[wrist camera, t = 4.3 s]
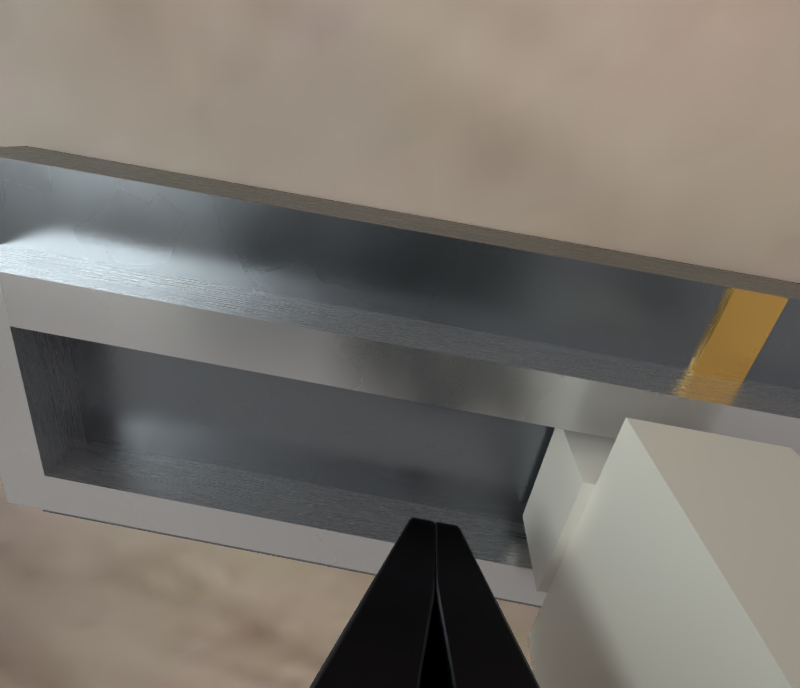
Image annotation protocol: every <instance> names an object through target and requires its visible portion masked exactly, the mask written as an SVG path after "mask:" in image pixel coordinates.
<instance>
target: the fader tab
mask: <svg viewBox="0 0 800 688" xmlns="http://www.w3.org/2000/svg"><path fill="white" fill-rule="evenodd" d="M523 522H524V527H525V532H526V537H527V543H528V548H529V553H530V558H531V564H532V569H533V574H534V579H535V585H536V590H537V591H540V592H545V593H547V595H546V598H545V600H544V602H543V604H542V607H541V609H540V611H539V613H538V616H537V618H536V620H535V622H534V625H533V627H532V629H531V631H530V634H529V636H528V640H529V646H530V653H531V659H532V666H533V672H534V676H535V678H536V680H537V682H538V684H539V686H540V688H800V456H799V455H798V454H797V453H796V452H795V451H794V450H793V449H791V448H789V447H784V446H778V445H773V444H768V443H762V442H757V441H751V440H746V439H741V438H735V437H730V436H724V435H719V434H714V433H708V432H703V431H697V430H692V429H686V428H681V427H676V426H670V425H665V424H659V423H654V422H649V421H643V420H638V419H632V418H627V417H626V418H625V420H624V423H623V425H622V427H621V429H620V432H619V434H618V436H617V438H616V439H613V438H608V437H602V436H597V435H592V434H586V433H581V432H576V431H570V430H565V429H559V428H555V429H554V432H553V435H552V437H551V440H550V443H549V446H548V448H547V451H546V454H545V456H544V459H543V462H542V465H541V467H540V470H539V473H538V475H537V478H536V481H535V483H534V486H533V489H532V492H531V494H530V497H529V500H528V502H527V505H526V508H525V511H524V513H523Z"/></svg>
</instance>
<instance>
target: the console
mask: <svg viewBox="0 0 800 688" xmlns="http://www.w3.org/2000/svg"><path fill="white" fill-rule="evenodd" d="M626 417H627V418H632V419H638V420H643V421H649V422H654V423H659V424H665V425H670V426H676V427H681V428H686V429H692V430H697V431H703V432H708V433H714V434H719V435H724V436H730V437H735V438H741V439H746V440H751V441H757V442H762V443H768V444H773V445H778V446H784V447H789V448H791V449H793V450H794V451H795V452H796V453H797V454H798V455H799V456H800V284H799V283H794V282H788V281H782V280H777V279H771V278H766V277H760V276H754V275H749V274H743V273H737V272H732V271H726V270H720V269H715V268H709V267H704V266H698V265H692V264H687V263H681V262H675V261H670V260H664V259H659V258H653V257H647V256H642V255H636V254H630V253H625V252H619V251H614V250H608V249H602V248H597V247H591V246H585V245H580V244H574V243H569V242H563V241H557V240H552V239H546V238H540V237H535V236H529V235H524V234H518V233H512V232H507V231H501V230H495V229H490V228H484V227H479V226H473V225H467V224H462V223H456V222H450V221H445V220H439V219H434V218H428V217H422V216H417V215H411V214H405V213H400V212H394V211H389V210H383V209H377V208H372V207H366V206H360V205H355V204H349V203H344V202H338V201H332V200H327V199H321V198H315V197H310V196H304V195H299V194H293V193H287V192H282V191H276V190H270V189H265V188H259V187H253V186H248V185H242V184H237V183H231V182H225V181H220V180H214V179H208V178H203V177H197V176H192V175H186V174H180V173H175V172H169V171H163V170H158V169H152V168H147V167H141V166H135V165H130V164H124V163H118V162H113V161H107V160H102V159H96V158H90V157H85V156H79V155H73V154H68V153H62V152H57V151H51V150H45V149H40V148H34V147H28V146H14V147H0V477H1V480H2V484H3V487H4V491H5V494H6V498H7V501H8V503H12V504H17V505H23V506H28V507H33V508H38V509H43V511H45V512H50V513H56V514H61V515H66V516H71V517H76V518H81V519H86V520H92V521H97V522H102V523H107V524H112V525H117V526H123V527H128V528H133V529H138V530H143V531H148V532H154V533H159V534H164V535H169V536H174V537H179V538H184V539H190V540H195V541H200V542H205V543H210V544H215V545H221V546H226V547H231V548H236V549H241V550H246V551H251V552H257V553H262V554H267V555H272V556H277V557H282V558H288V559H293V560H298V561H303V562H308V563H313V564H318V565H324V566H329V567H334V568H339V569H344V570H349V571H355V572H360V573H365V574H370V575H375V576H376V575H377V573H378V571H379V570H380V568H381V566H382V565H383V563H384V561H385V560H386V558H387V556H388V555H389V553H390V551H391V549H392V548H393V546H394V544H395V543H396V541H397V539H398V538H399V536H400V534H401V533H402V531H403V529H404V528H405V526H406V524H407V523H408V521H409V520H410V519H411V518H412V517H415V518H421V519H426V520H431V521H433V522H434V523H435V522H442V523H447V524H452V525H457V526H458V527H459V528H460V529H461V531H462V533H463V535H464V537H465V539H466V541H467V543H468V545H469V547H470V549H471V551H472V553H473V555H474V557H475V559H476V561H477V563H478V565H479V567H480V569H481V571H482V573H483V575H484V577H485V579H486V581H487V583H488V585H489V587H490V589H491V591H492V593H493V595H494V597H495V599H499V600H504V601H509V602H514V603H519V604H525V605H530V606H535V607H540V608H541V607H542V604H543V602H544V600H545V598H546V595H547V593H545V592H540V591H537V590H536V585H535V579H534V574H533V569H532V564H531V558H530V553H529V548H528V543H527V537H526V532H525V527H524V522H523V513H524V511H525V508H526V505H527V502H528V500H529V497H530V494H531V492H532V489H533V486H534V483H535V481H536V478H537V475H538V473H539V470H540V467H541V465H542V462H543V459H544V456H545V454H546V451H547V448H548V446H549V443H550V440H551V437H552V435H553V432H554V429H555V428H559V429H565V430H570V431H576V432H581V433H586V434H592V435H597V436H602V437H608V438H613V439H616V438H617V436H618V434H619V432H620V429H621V427H622V425H623V423H624V420H625V418H626Z"/></svg>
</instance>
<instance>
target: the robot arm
mask: <svg viewBox="0 0 800 688" xmlns="http://www.w3.org/2000/svg"><path fill="white" fill-rule="evenodd" d="M310 688H540V686H539V684H538V682H537V680H536V678H535V676H534V674H533V672H532V670H531V668H530V666H529V664H528V662H527V660H526V658H525V656H524V654H523V652H522V650H521V648H520V646H519V644H518V642H517V640H516V638H515V637H514V635H513V633H512V631H511V629H510V627H509V625H508V623H507V621H506V619H505V617H504V615H503V613H502V611H501V609H500V607H499V605H498V603H497V601H496V599H495V597H494V595H493V593H492V591H491V589H490V587H489V585H488V583H487V581H486V579H485V577H484V575H483V573H482V571H481V569H480V567H479V565H478V563H477V561H476V559H475V557H474V555H473V553H472V551H471V549H470V547H469V545H468V543H467V541H466V539H465V537H464V535H463V533H462V531H461V529H460V528H459V527H458V526H457V525H452V524H447V523H442V522H435V523H434V522H433V521H431V520H426V519H421V518H415V517H412V518H411V519H410V520H409V521H408V523H407V524H406V526H405V528H404V529H403V531H402V533H401V534H400V536H399V538H398V539H397V541H396V543H395V544H394V546H393V548H392V549H391V551H390V553H389V555H388V556H387V558H386V560H385V561H384V563H383V565H382V566H381V568H380V570H379V571H378V573H377V575H376V576H375V578H374V580H373V581H372V583H371V585H370V586H369V588H368V590H367V592H366V593H365V595H364V597H363V598H362V600H361V602H360V603H359V605H358V607H357V608H356V610H355V612H354V613H353V615H352V617H351V618H350V620H349V622H348V624H347V625H346V627H345V629H344V630H343V632H342V634H341V635H340V637H339V639H338V640H337V642H336V644H335V645H334V647H333V649H332V650H331V652H330V654H329V656H328V657H327V659H326V661H325V662H324V664H323V666H322V667H321V669H320V671H319V672H318V674H317V676H316V677H315V679H314V681H313V682H312V684H311V686H310Z"/></svg>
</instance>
